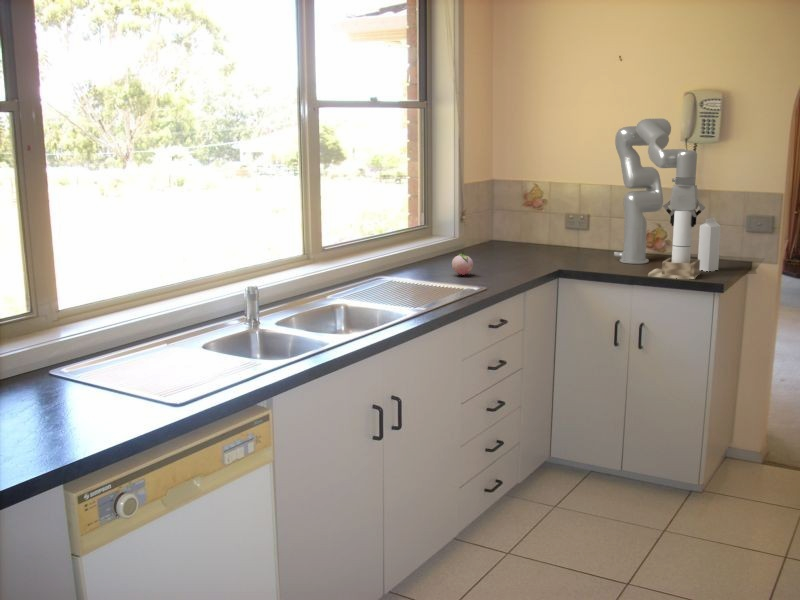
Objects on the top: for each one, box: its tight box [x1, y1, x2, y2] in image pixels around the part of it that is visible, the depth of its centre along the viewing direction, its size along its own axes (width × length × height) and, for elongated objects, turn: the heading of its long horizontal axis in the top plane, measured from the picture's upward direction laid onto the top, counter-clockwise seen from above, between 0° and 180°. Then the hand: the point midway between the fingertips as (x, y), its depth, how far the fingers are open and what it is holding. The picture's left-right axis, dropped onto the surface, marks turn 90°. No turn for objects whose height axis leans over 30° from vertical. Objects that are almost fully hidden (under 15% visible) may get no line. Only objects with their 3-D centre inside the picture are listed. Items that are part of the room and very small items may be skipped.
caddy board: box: [647, 257, 701, 280], centre depth 351 cm, size 18×13×6 cm
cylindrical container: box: [671, 210, 693, 264], centre depth 347 cm, size 7×7×25 cm
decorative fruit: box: [451, 251, 474, 276], centre depth 356 cm, size 9×8×10 cm
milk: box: [697, 217, 722, 273], centre depth 360 cm, size 6×6×22 cm
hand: (682, 225), depth 346 cm, fingers closed on cylindrical container, 7 cm apart
